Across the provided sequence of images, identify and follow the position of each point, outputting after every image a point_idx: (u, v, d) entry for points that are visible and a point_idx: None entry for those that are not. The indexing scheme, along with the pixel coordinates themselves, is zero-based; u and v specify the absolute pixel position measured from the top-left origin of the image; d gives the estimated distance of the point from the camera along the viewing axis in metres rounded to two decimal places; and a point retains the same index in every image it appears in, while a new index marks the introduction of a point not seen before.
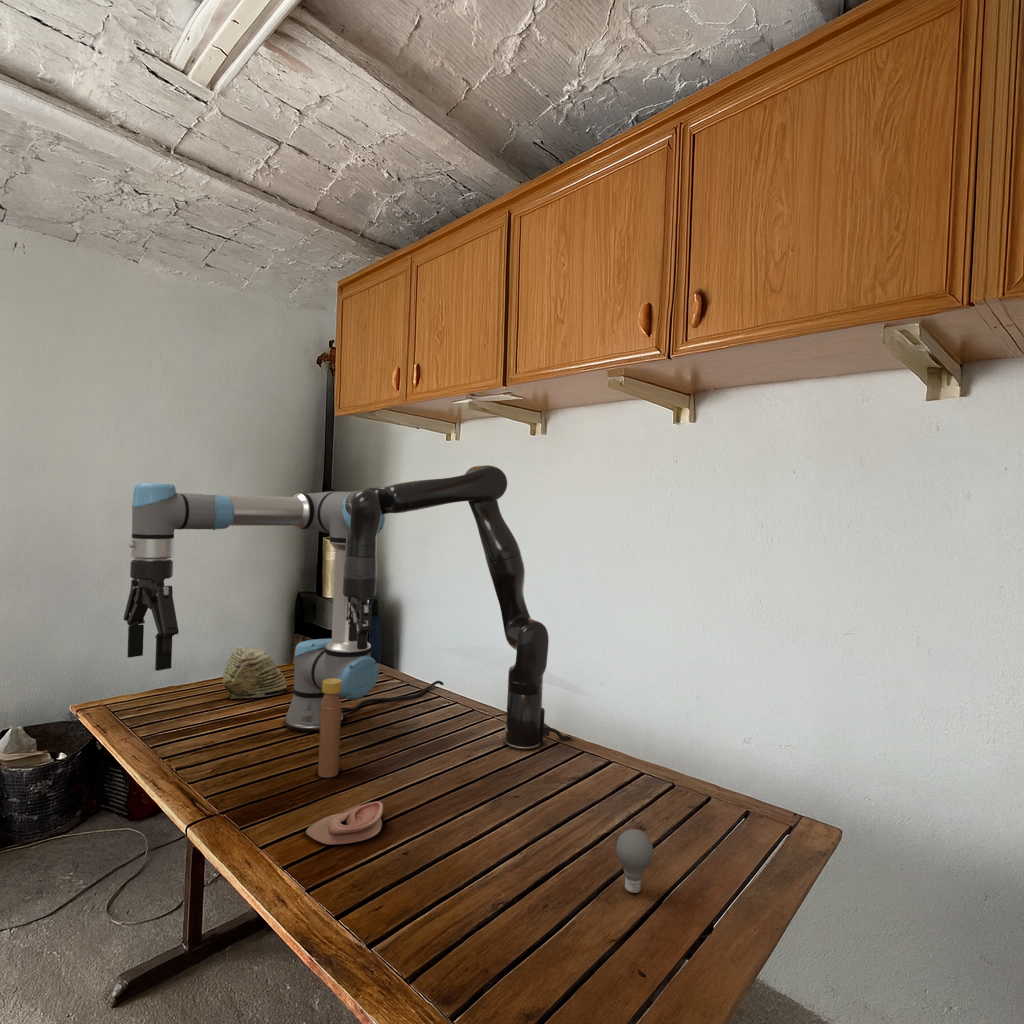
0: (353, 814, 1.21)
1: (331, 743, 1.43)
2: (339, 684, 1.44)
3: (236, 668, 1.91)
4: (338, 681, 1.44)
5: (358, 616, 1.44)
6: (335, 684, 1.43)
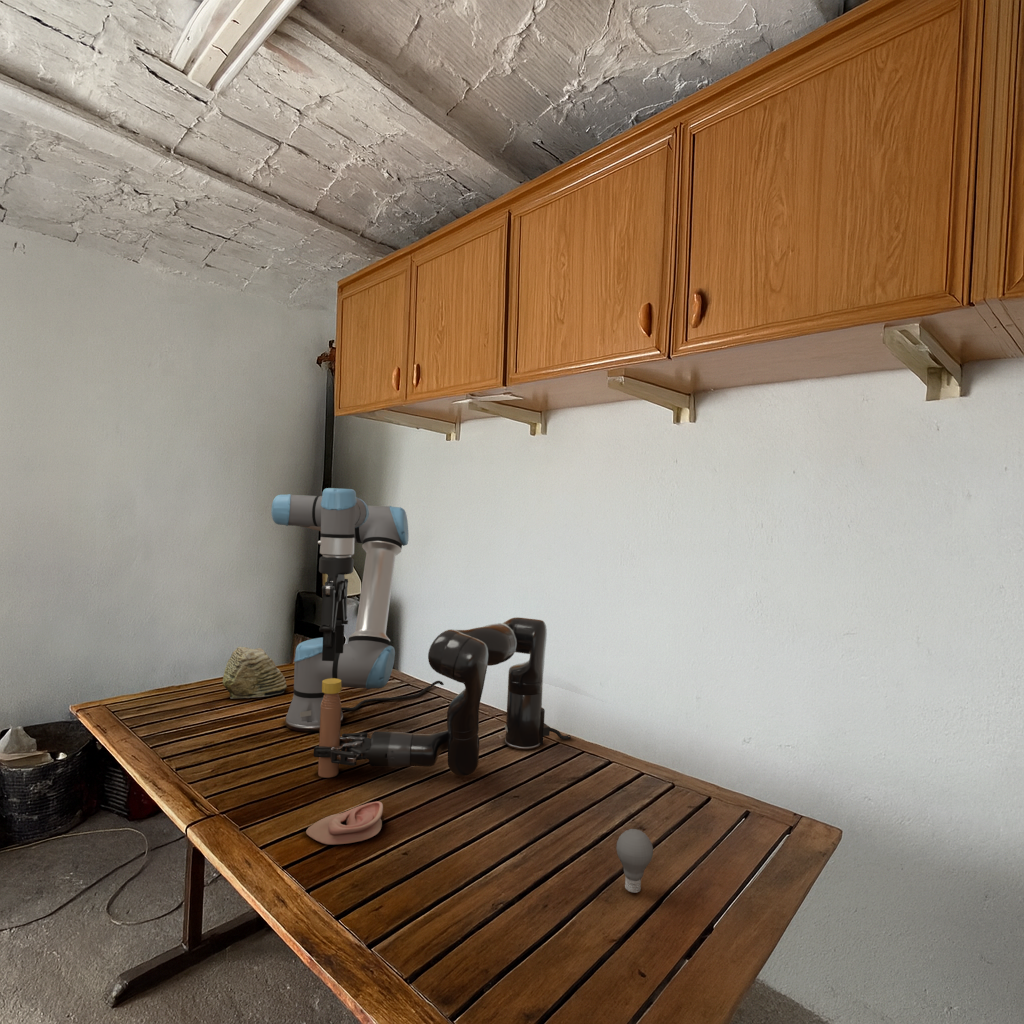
0: (353, 814, 1.21)
1: (331, 743, 1.43)
2: (339, 684, 1.44)
3: (236, 668, 1.91)
4: (338, 681, 1.44)
5: None
6: (335, 684, 1.43)
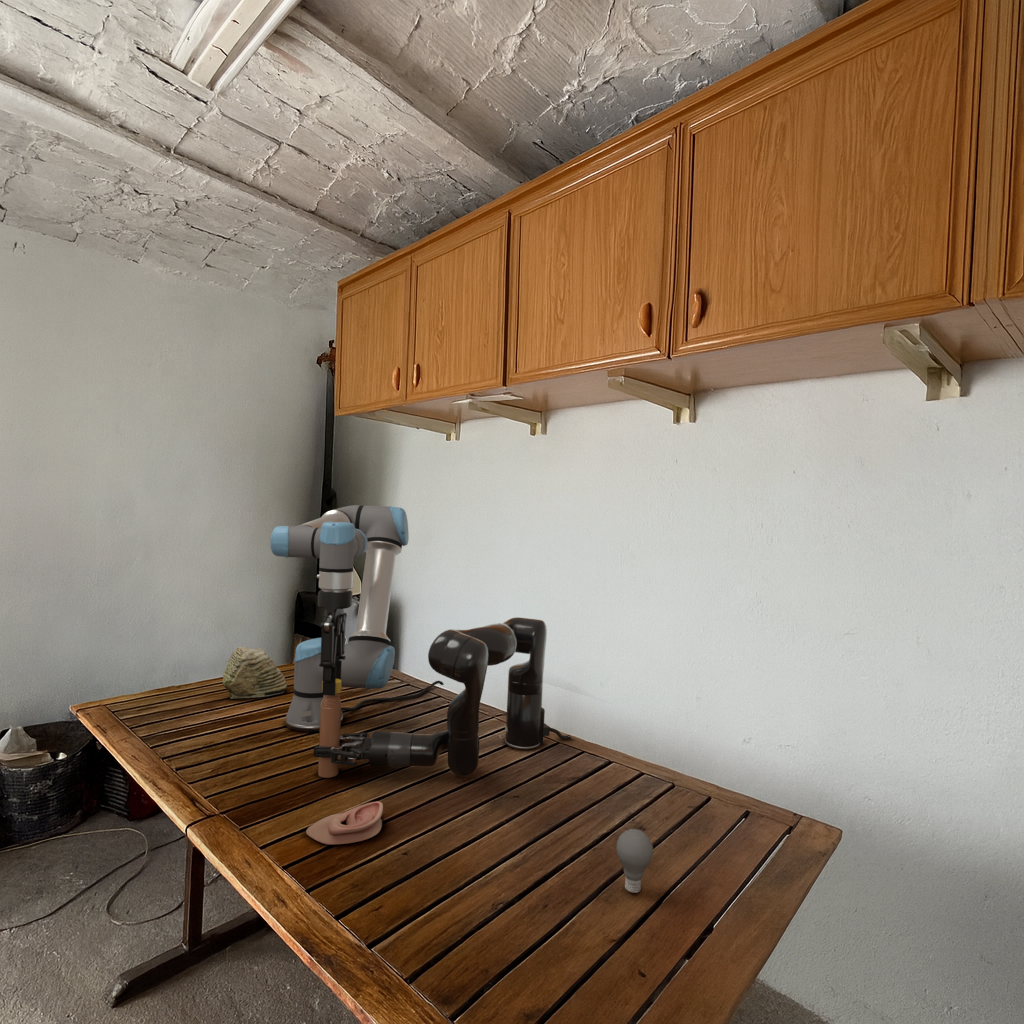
0: (353, 814, 1.21)
1: (331, 743, 1.43)
2: (339, 684, 1.44)
3: (236, 668, 1.91)
4: (338, 681, 1.44)
5: None
6: None
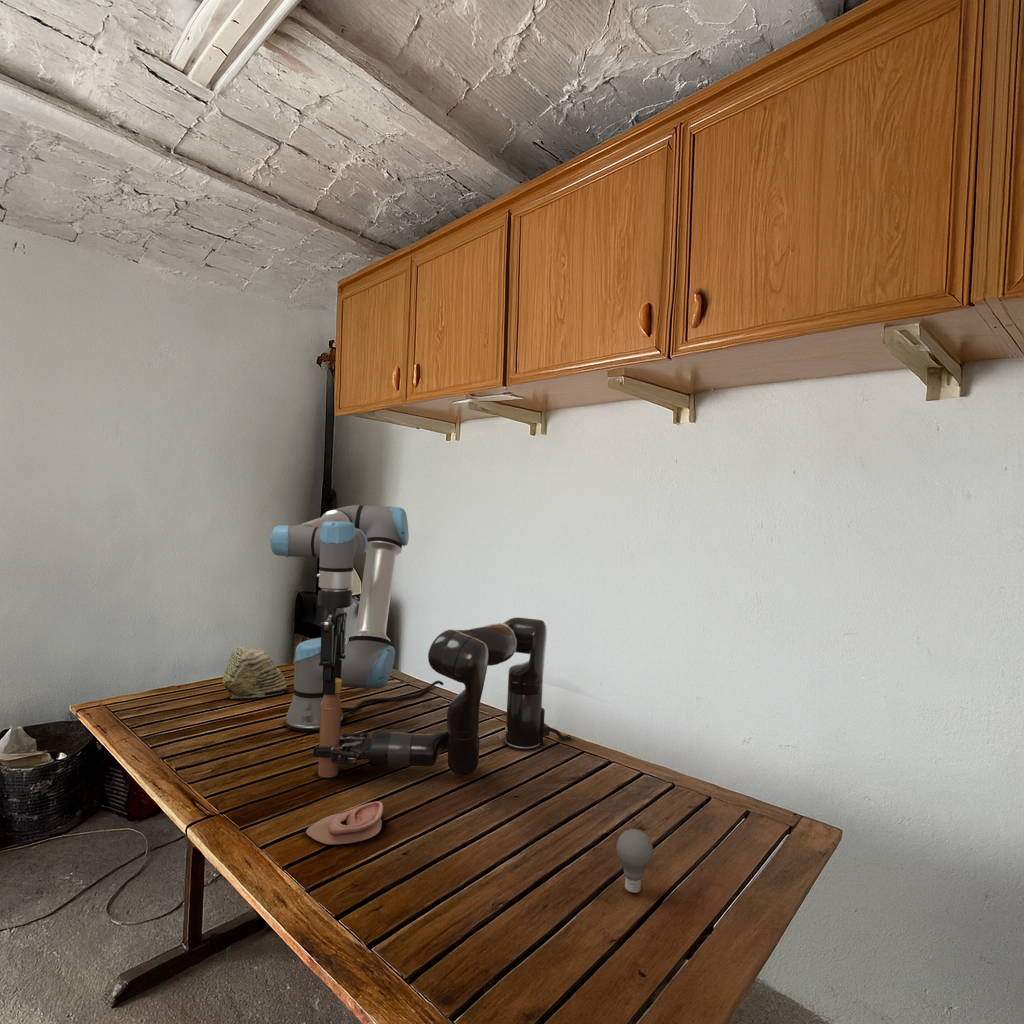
0: (353, 814, 1.21)
1: (331, 743, 1.43)
2: None
3: (236, 668, 1.91)
4: None
5: None
6: None
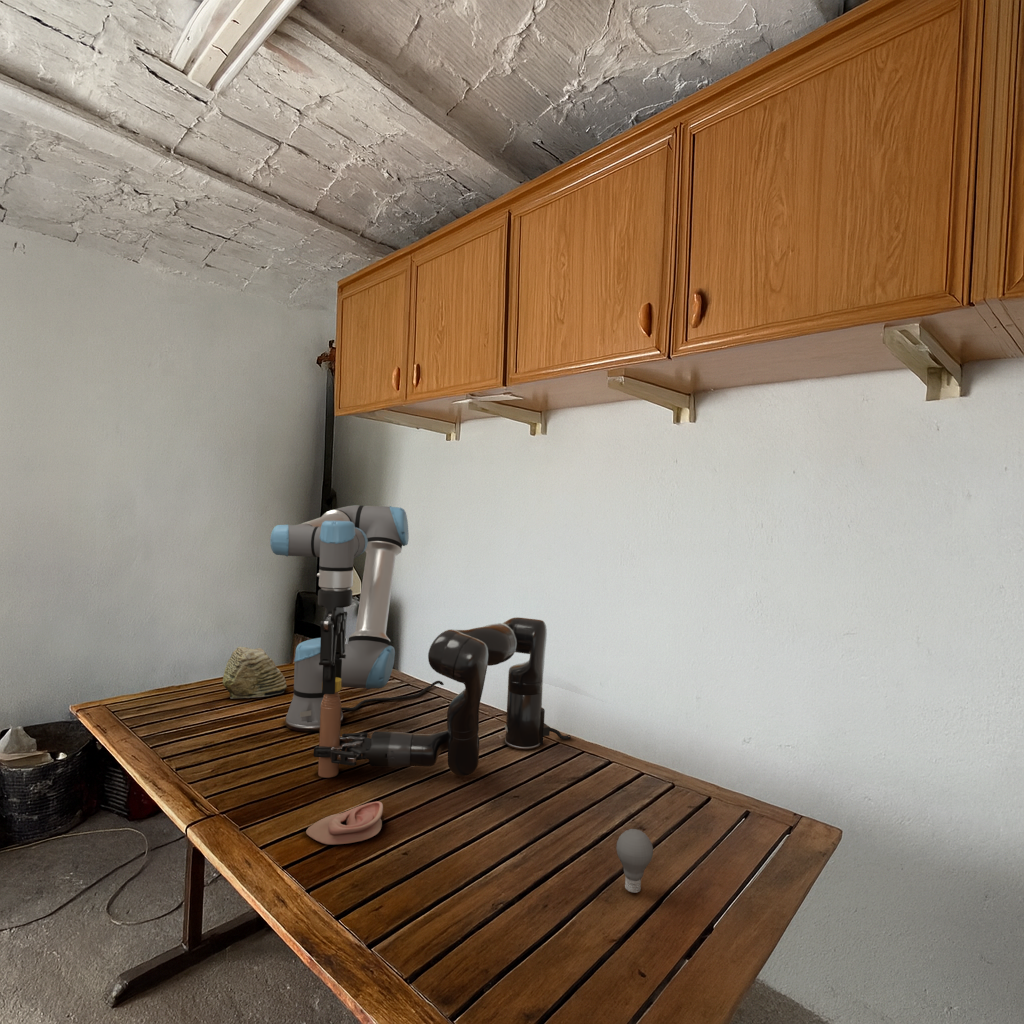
0: (353, 814, 1.21)
1: (331, 743, 1.43)
2: None
3: (236, 668, 1.91)
4: None
5: None
6: None
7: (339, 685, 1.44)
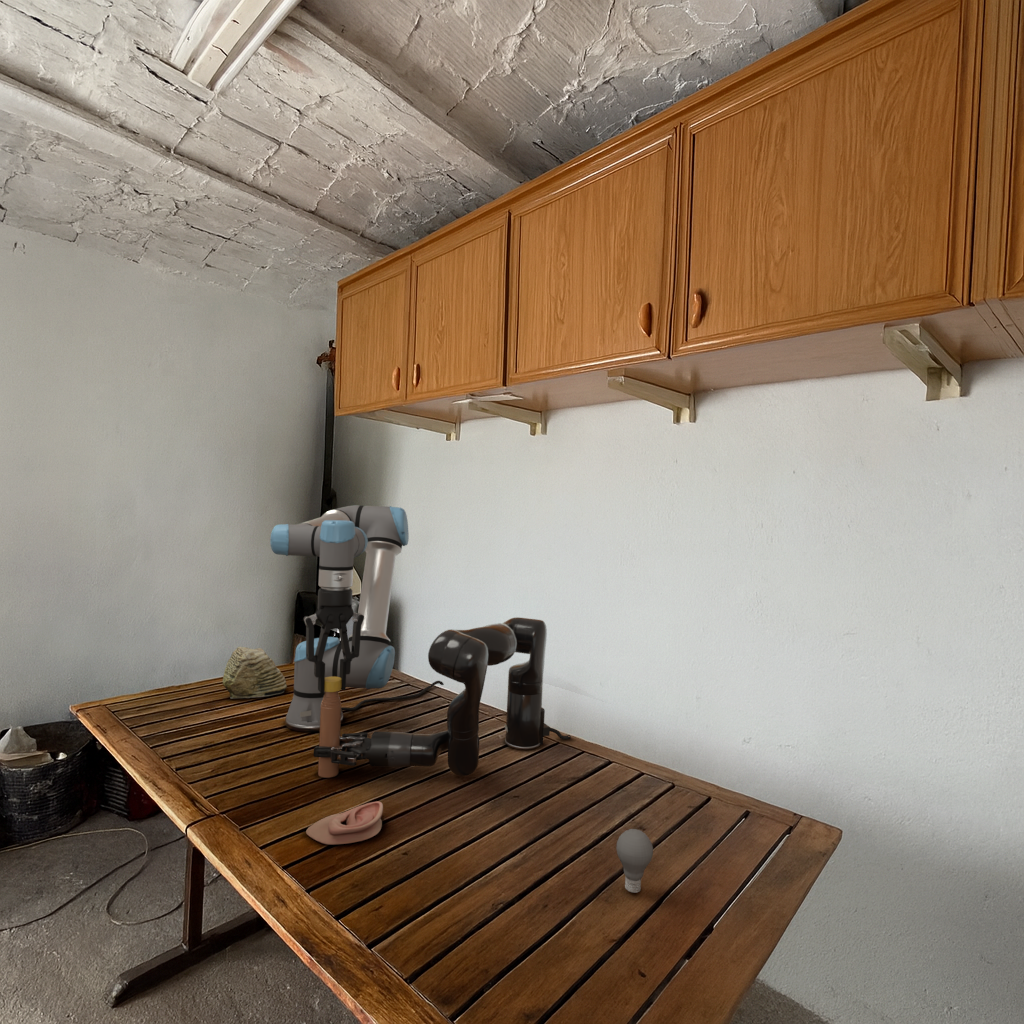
0: (353, 814, 1.21)
1: (331, 743, 1.43)
2: (341, 681, 1.45)
3: (236, 668, 1.91)
4: (339, 678, 1.45)
5: None
6: (339, 681, 1.44)
7: None
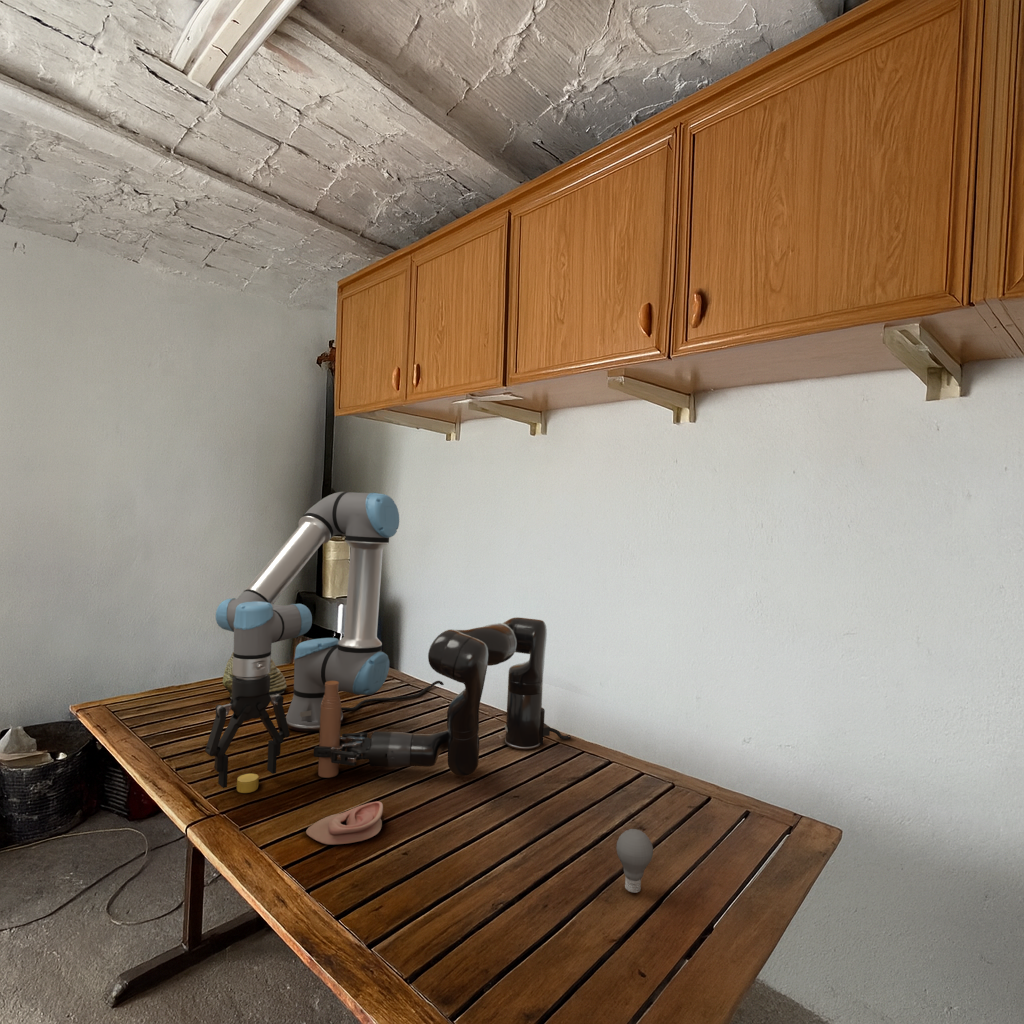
0: (353, 814, 1.21)
1: (331, 743, 1.43)
2: (258, 778, 1.37)
3: None
4: (255, 776, 1.37)
5: None
6: (257, 779, 1.36)
7: None
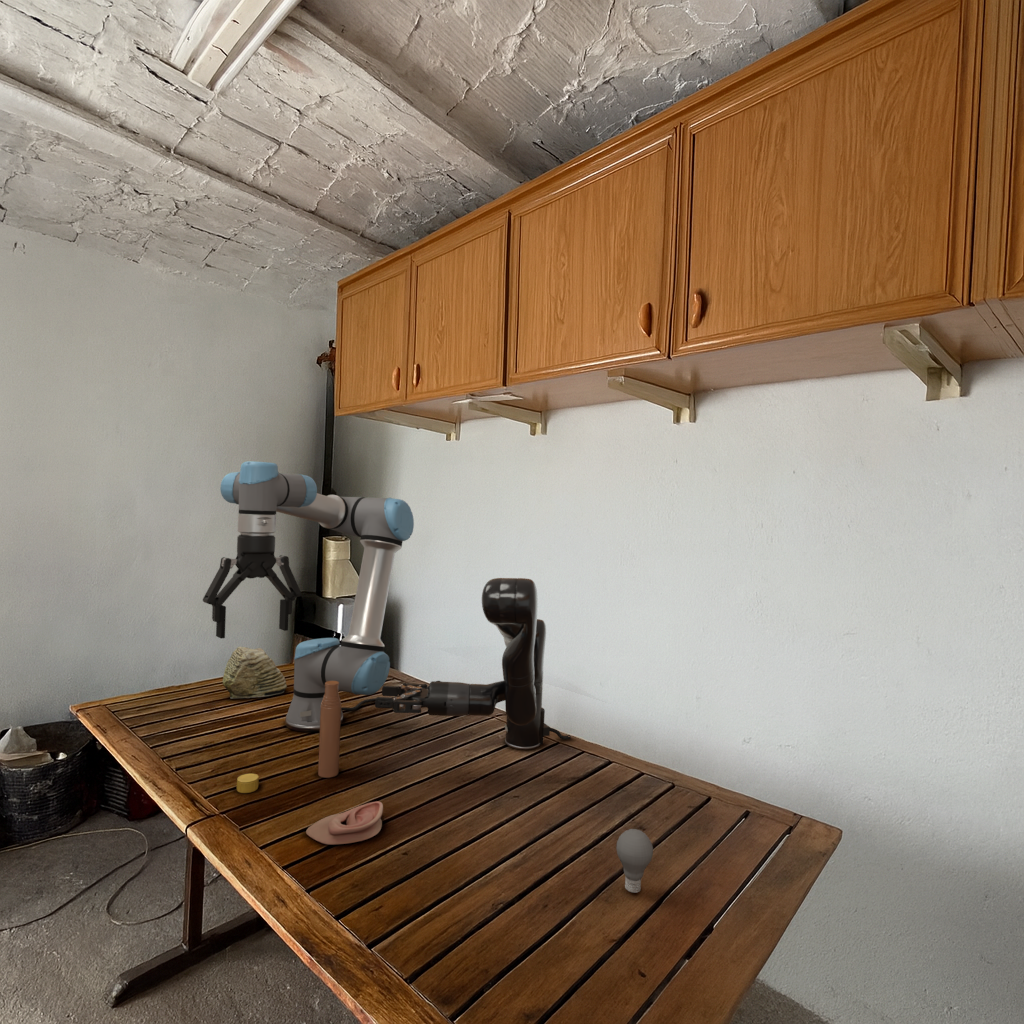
0: (353, 814, 1.21)
1: (331, 743, 1.43)
2: (258, 778, 1.37)
3: (236, 668, 1.91)
4: (255, 776, 1.37)
5: None
6: (257, 779, 1.36)
7: None
